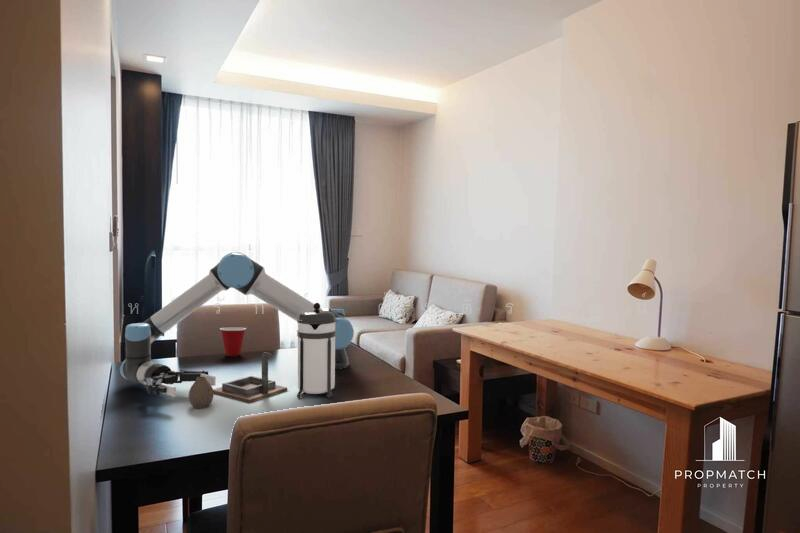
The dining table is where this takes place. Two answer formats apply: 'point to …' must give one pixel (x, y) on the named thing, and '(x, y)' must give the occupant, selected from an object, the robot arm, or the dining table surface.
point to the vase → (201, 393)
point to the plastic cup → (233, 340)
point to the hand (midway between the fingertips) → (195, 386)
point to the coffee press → (316, 352)
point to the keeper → (251, 386)
